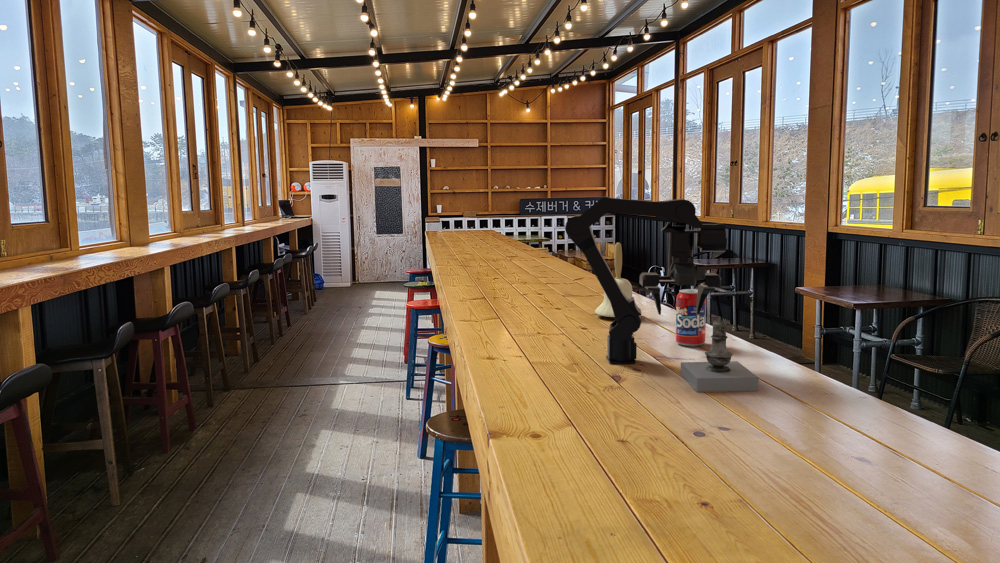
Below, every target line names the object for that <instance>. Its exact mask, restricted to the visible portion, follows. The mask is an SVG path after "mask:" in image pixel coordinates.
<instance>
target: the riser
mask: <svg viewBox="0 0 1000 563" xmlns="http://www.w3.org/2000/svg"><path fill="white" fill-rule="evenodd" d="M709 365H712V364H710V363H709V362H708V361H688V362H687V361H685V362H680V376H681V377H682V378H683V379H684V380H685V382H686V383H688V385H690V386H691V388H692V389H693V390H694V391H695V392H697V393H712V392H717V393H719V392H755V391H756V392H758V391H759V379H760V378H759V376H758V375H756V374H755V373H754V372H753V371H751V370H750V369H748V368H747V367H746V366H744V365H743V364H741V362H739V361H734V360H733V361H731V360H730V362H729V363H728V364H727V365H724V366H727V367H729V368H730V369H731V371H730V372H725V373H718V372H711V371H708V370H706V367H708V366H709Z"/></svg>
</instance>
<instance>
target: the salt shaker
mask: <svg viewBox="0 0 1000 563" xmlns="http://www.w3.org/2000/svg"><path fill="white" fill-rule="evenodd" d="M710 338H711V347H710V350H707V351H705V352H704V354H705V356H706V357H705V358H706V360H707V361H706V362H709V363H710V364H712V365H709V366H708V367H706V370H708V371H711V372H718V373H725V372H730V371H731V369H730V368H729V367H727V366H724V365H727V364H728V363H729V362H730V361H731V360H732V357H733V355H734V354H733V353H732V352H730V351H728V349H727V339H728V336H727V323H726V321H724V320H723V319H722V317H721V316H720V315H718V319H716V320H715V321H713V323H712V335H710Z"/></svg>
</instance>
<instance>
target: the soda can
mask: <svg viewBox="0 0 1000 563" xmlns="http://www.w3.org/2000/svg"><path fill="white" fill-rule="evenodd" d="M678 291H679V292H678V293H677V295H676V300H675V302H676V304H675V309H676V310H675V342H676V344H679V345H681V346H684V347H689V348H692V347H694V348H695V347H700V346H702V345H704V344H705V343H706V333H707V332H706V328H707V327H706V326H707V321H706V320H707V298H706V299H705V301H704V303H703V306H702V308H701V311H700V313H699V315H697V314H696V303H697V291H698V288H697V289H695V288H684V289H680V290H678Z"/></svg>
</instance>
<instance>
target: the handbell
mask: <svg viewBox="0 0 1000 563" xmlns="http://www.w3.org/2000/svg"><path fill="white" fill-rule="evenodd" d="M613 259H614V270H615V277H614V278H615V279H616V281H617V283H618V285H619V287H620V288H621V290H622V292H623V294H624V295H625V296H626V297H627V298H628V299H630V298H631V297H633V286H632V284H631V282H630V281H629V280H628V279H626V278H622V276H621V274H622V267H623V250H622V244H621V243H620V242H616V243H615V247H614V258H613ZM603 295H604V296H603V301H602V303H601V304H600V305H598V306H597V308H595V310H594V312H595V314H596V315H598V316H602V317H608V318H615V316H614V313H613V309H612V306H611V303H610V300H609V299H608V297H607V295H606V293H605V291H604V290H603Z"/></svg>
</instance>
